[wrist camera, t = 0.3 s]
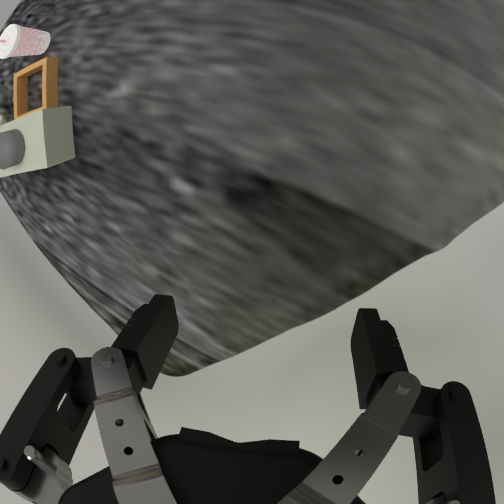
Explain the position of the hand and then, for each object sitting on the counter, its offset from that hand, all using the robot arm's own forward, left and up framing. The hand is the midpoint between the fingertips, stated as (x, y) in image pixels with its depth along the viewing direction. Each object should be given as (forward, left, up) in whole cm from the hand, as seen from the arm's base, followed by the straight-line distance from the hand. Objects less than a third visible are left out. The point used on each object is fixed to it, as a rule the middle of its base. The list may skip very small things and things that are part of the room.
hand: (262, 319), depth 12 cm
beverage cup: (-27, -41, -29) cm, 57 cm away
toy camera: (-13, -41, -29) cm, 52 cm away
